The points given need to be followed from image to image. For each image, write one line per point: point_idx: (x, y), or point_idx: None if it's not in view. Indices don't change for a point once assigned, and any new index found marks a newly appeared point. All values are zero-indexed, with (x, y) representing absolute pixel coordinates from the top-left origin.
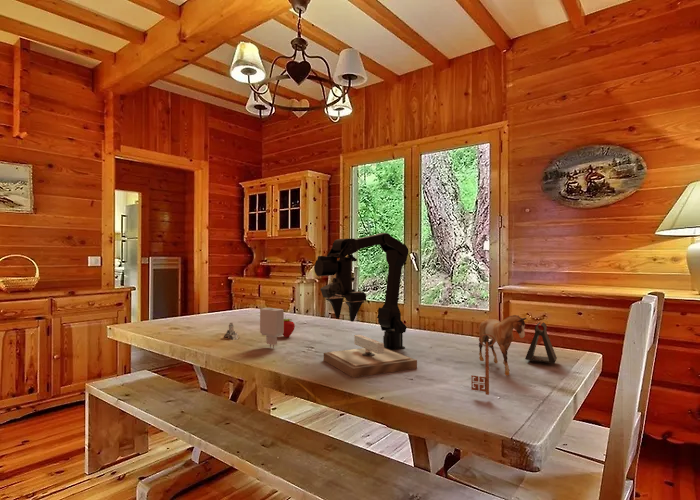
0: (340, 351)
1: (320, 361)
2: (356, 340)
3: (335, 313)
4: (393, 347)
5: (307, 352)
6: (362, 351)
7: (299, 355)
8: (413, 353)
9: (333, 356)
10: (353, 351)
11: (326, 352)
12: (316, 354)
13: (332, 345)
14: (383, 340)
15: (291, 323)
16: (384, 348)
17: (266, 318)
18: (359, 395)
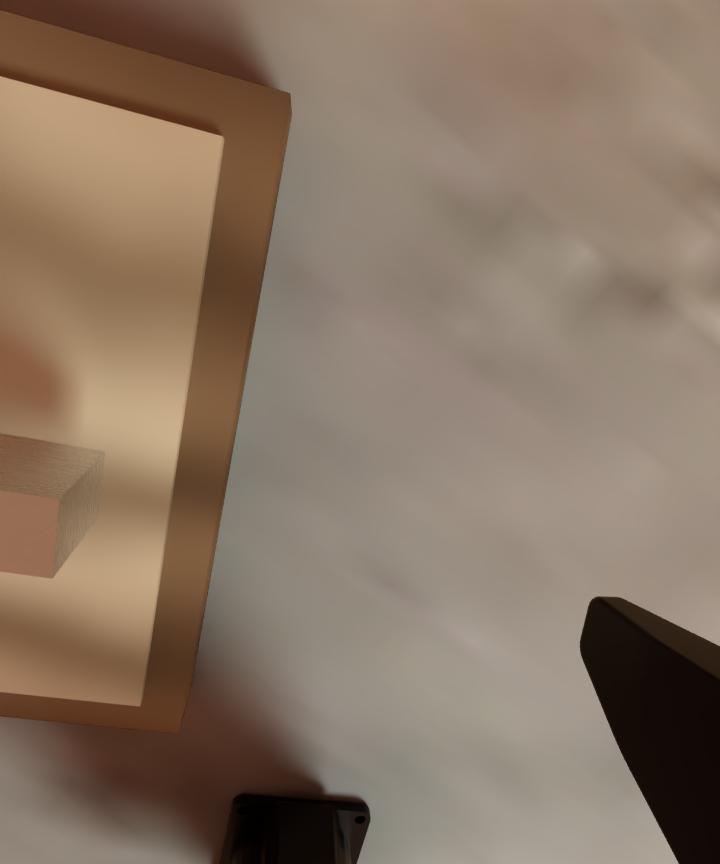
0: (170, 266)
1: (275, 55)
2: (17, 460)
3: (681, 649)
4: (244, 834)
5: (679, 197)
6: None
7: (645, 36)
8: (46, 851)
9: (39, 60)
10: (83, 384)
11: (280, 134)
12: (547, 219)
13: (701, 550)
14: (333, 854)
15: None
16: (33, 694)
17: None
18: None
